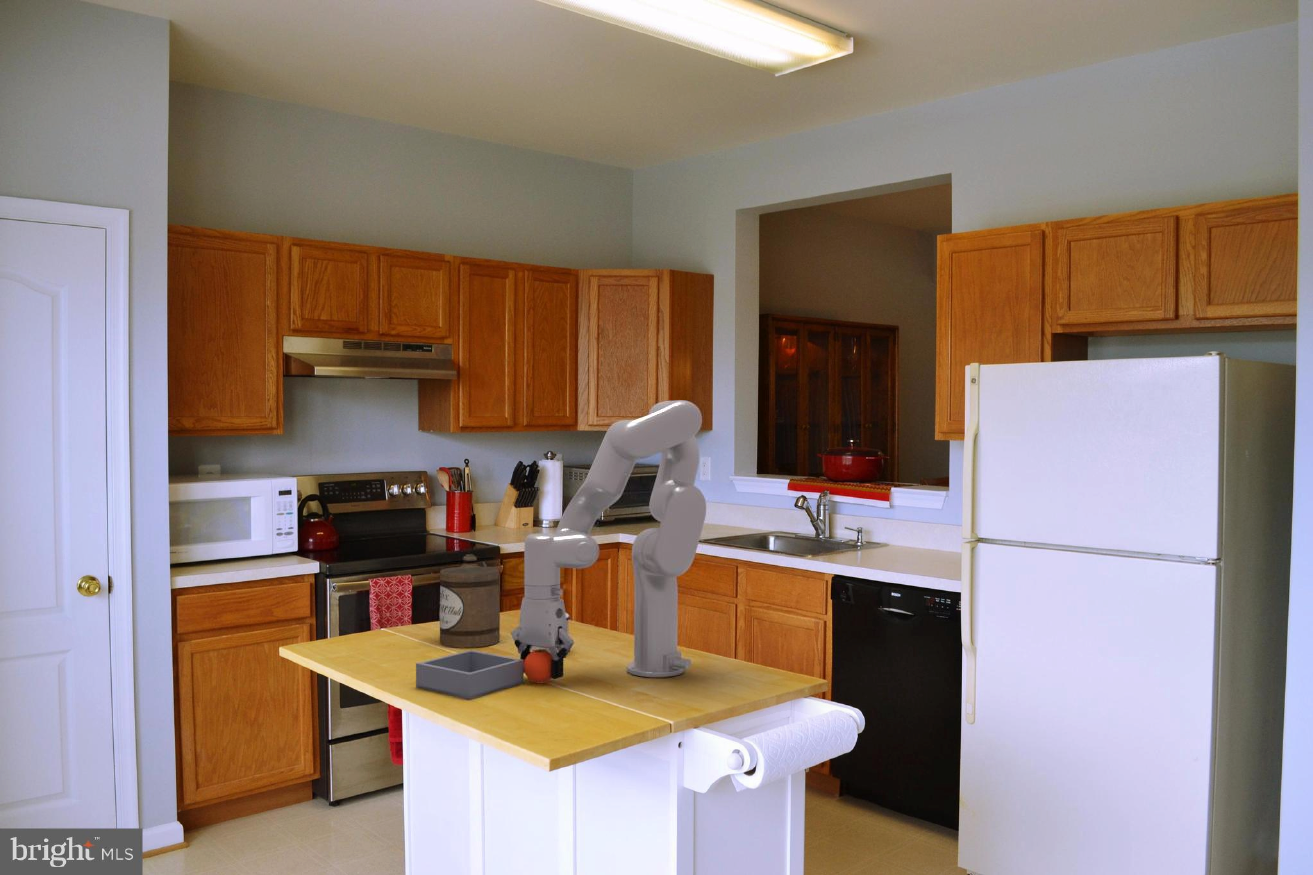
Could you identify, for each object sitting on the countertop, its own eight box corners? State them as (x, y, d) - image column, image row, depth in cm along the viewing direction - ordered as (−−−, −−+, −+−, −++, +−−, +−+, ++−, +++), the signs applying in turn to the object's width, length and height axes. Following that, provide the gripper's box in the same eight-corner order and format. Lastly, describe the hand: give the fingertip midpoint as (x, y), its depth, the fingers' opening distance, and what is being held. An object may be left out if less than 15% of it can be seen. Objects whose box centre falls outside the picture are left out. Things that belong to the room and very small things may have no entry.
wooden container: (433, 638, 254) (434, 552, 254) (490, 634, 260) (491, 549, 260) (447, 650, 240) (447, 559, 240) (506, 645, 247) (507, 556, 246)
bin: (523, 683, 210) (523, 659, 210) (469, 699, 197) (469, 674, 197) (471, 672, 219) (471, 649, 219) (416, 687, 206) (416, 663, 206)
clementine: (543, 675, 216) (544, 643, 216) (566, 681, 212) (566, 647, 212) (516, 683, 210) (516, 649, 210) (539, 688, 206) (539, 654, 206)
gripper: (585, 594, 209) (584, 677, 209) (523, 586, 219) (523, 665, 219) (561, 598, 203) (561, 684, 203) (499, 590, 213) (499, 672, 213)
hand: (541, 674), depth 211 cm, fingers open, 8 cm apart
